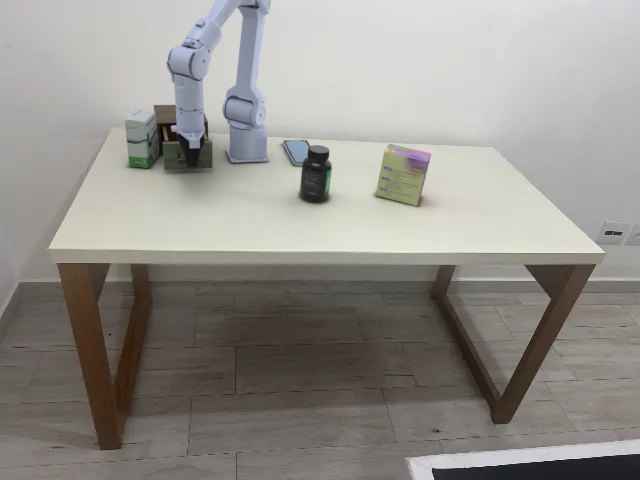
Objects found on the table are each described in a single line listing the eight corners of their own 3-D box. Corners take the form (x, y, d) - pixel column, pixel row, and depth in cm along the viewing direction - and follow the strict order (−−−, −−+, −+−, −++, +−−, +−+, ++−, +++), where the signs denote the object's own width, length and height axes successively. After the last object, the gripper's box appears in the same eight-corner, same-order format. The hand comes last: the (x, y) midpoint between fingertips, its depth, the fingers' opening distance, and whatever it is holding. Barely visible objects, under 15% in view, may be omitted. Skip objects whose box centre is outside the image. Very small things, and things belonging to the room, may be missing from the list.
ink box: (149, 169, 121) (144, 122, 114) (128, 167, 120) (123, 119, 114) (159, 154, 128) (156, 109, 122) (140, 152, 128) (135, 107, 121)
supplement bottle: (333, 200, 117) (339, 153, 110) (307, 205, 113) (312, 156, 107) (319, 187, 121) (324, 141, 115) (294, 192, 118) (298, 144, 112)
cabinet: (208, 153, 132) (207, 122, 127) (159, 155, 128) (156, 122, 123) (201, 134, 142) (200, 104, 138) (155, 135, 138) (153, 104, 134)
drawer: (215, 175, 119) (214, 149, 116) (165, 178, 116) (163, 151, 112) (205, 148, 132) (205, 123, 129) (160, 149, 129) (159, 124, 125)
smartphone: (294, 163, 130) (282, 140, 142) (294, 166, 130) (282, 143, 142) (321, 162, 132) (307, 139, 144) (320, 166, 133) (306, 142, 144)
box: (421, 196, 123) (431, 152, 117) (417, 206, 118) (428, 161, 112) (380, 186, 125) (388, 142, 119) (375, 196, 121) (383, 151, 114)
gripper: (167, 96, 109) (170, 153, 116) (173, 119, 98) (176, 181, 105) (199, 96, 111) (201, 152, 119) (209, 118, 100) (210, 179, 107)
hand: (192, 165), depth 112 cm, fingers closed
